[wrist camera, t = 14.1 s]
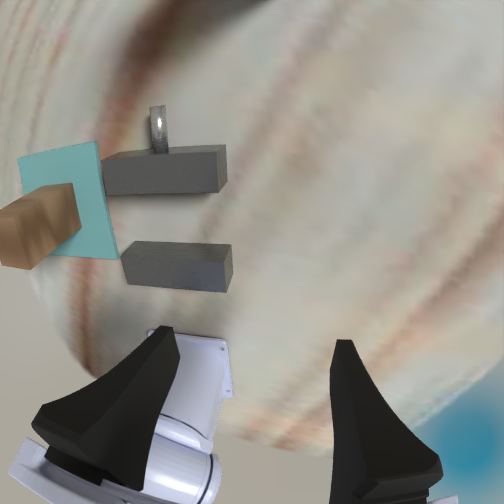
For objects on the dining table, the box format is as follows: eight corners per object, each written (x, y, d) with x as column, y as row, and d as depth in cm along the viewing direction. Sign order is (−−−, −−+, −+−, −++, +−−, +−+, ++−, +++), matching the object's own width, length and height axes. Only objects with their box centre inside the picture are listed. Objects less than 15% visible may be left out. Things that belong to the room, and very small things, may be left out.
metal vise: (233, 273, 24) (226, 292, 21) (140, 267, 25) (127, 284, 22) (223, 99, 17) (213, 100, 15) (115, 112, 18) (95, 117, 16)
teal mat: (119, 256, 24) (116, 259, 24) (43, 251, 26) (41, 253, 25) (97, 141, 20) (94, 142, 19) (20, 157, 21) (17, 159, 21)
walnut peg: (82, 227, 23) (30, 270, 17) (51, 226, 24) (2, 265, 17) (72, 182, 21) (13, 217, 15) (42, 185, 22) (-14, 218, 16)
